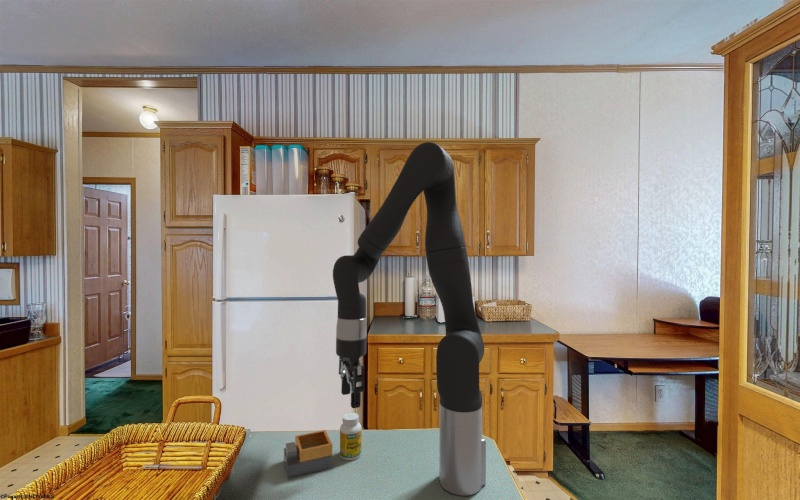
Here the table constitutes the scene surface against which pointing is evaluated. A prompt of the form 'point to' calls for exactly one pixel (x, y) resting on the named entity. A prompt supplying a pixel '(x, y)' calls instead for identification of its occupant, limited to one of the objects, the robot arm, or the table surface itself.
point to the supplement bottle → (350, 437)
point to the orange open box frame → (308, 454)
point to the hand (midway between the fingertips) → (350, 400)
